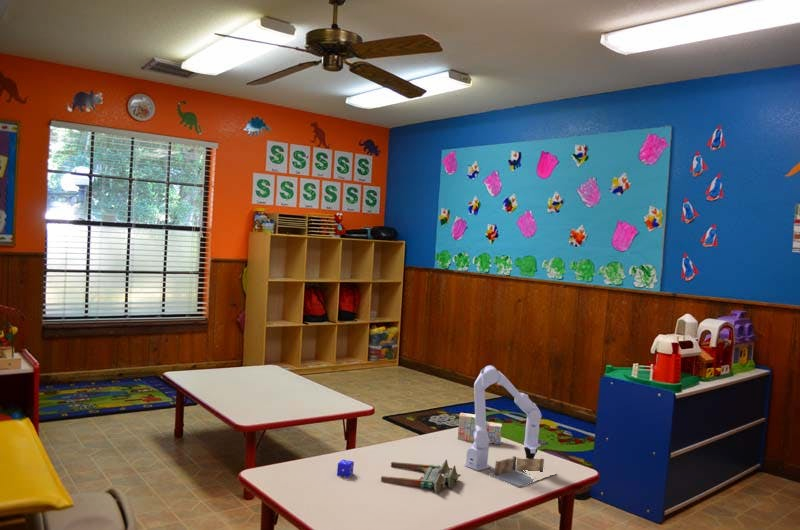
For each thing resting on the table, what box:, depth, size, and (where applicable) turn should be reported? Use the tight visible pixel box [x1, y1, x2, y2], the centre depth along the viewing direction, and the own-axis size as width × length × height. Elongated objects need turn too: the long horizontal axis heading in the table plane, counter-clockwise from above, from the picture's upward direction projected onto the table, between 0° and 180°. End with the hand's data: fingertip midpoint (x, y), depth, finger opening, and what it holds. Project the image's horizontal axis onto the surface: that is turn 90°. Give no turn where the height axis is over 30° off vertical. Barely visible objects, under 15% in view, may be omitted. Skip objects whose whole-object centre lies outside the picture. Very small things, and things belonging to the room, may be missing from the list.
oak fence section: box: [516, 456, 545, 472], centre depth 265 cm, size 12×2×5 cm, turn 90°
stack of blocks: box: [457, 412, 503, 445], centre depth 305 cm, size 21×6×12 cm, turn 79°
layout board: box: [487, 464, 537, 488], centre depth 261 cm, size 28×16×1 cm, turn 134°
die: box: [336, 459, 355, 478], centre depth 245 cm, size 5×5×5 cm
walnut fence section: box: [494, 455, 517, 476], centre depth 261 cm, size 14×2×6 cm, turn 134°
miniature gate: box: [380, 459, 461, 496], centre depth 246 cm, size 27×6×30 cm
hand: (529, 464), depth 266 cm, fingers closed, pressing on oak fence section
